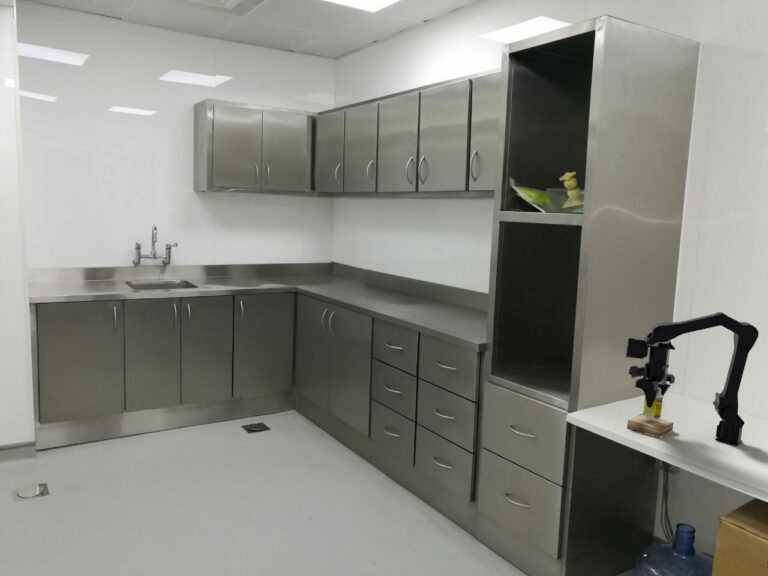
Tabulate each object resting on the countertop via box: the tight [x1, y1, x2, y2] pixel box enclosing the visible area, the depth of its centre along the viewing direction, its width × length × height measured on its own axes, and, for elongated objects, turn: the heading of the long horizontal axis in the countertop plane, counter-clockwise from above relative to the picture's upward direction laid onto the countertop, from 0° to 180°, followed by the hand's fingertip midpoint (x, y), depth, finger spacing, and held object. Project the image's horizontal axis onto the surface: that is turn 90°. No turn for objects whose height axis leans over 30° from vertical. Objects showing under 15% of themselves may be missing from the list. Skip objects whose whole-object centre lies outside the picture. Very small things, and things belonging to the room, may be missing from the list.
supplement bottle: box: [642, 388, 664, 419], centre depth 214 cm, size 6×6×10 cm
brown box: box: [626, 413, 674, 438], centre depth 215 cm, size 11×11×3 cm
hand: (652, 405), depth 214 cm, fingers closed on supplement bottle, 6 cm apart
